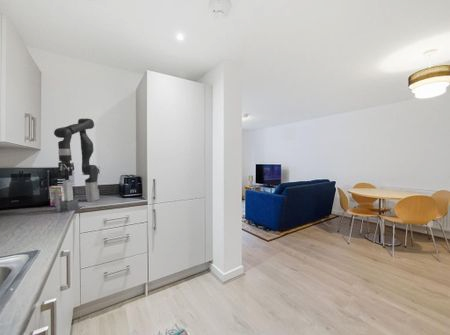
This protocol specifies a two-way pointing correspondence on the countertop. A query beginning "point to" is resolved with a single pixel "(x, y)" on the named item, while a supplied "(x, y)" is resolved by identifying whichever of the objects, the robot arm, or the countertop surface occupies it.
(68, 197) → the column
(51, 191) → the candy bar box
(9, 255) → the countertop surface
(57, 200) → the arrow post
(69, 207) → the stand base
